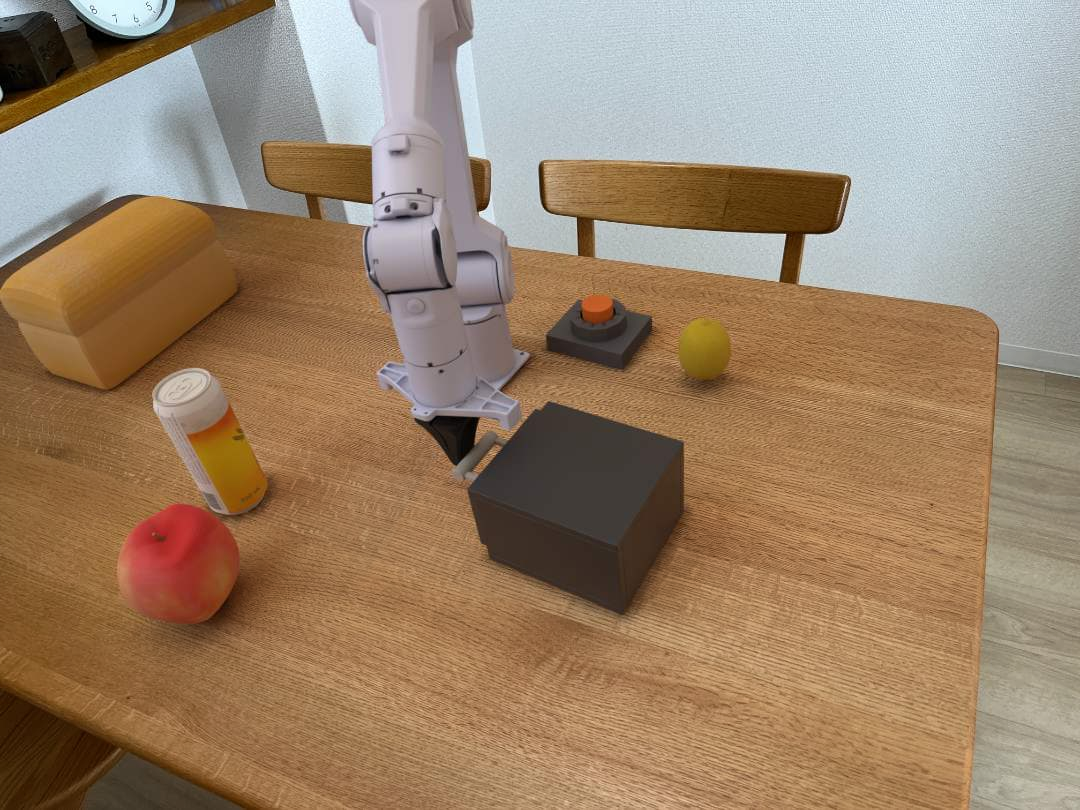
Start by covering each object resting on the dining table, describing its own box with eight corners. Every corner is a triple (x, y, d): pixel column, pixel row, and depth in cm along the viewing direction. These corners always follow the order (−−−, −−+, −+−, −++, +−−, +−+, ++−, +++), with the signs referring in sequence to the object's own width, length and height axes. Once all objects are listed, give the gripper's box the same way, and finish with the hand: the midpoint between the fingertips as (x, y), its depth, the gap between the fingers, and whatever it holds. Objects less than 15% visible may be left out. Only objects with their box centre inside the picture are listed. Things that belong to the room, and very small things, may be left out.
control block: (547, 349, 96) (543, 322, 94) (579, 313, 101) (577, 286, 99) (622, 369, 92) (620, 341, 89) (652, 331, 97) (651, 303, 94)
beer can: (281, 480, 85) (228, 369, 75) (247, 524, 80) (187, 411, 71) (234, 471, 87) (176, 361, 77) (199, 513, 82) (133, 403, 73)
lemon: (728, 396, 86) (731, 336, 81) (676, 394, 88) (676, 334, 82) (730, 364, 90) (733, 304, 85) (680, 362, 92) (679, 304, 86)
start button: (577, 320, 94) (575, 308, 93) (591, 304, 96) (590, 291, 95) (604, 327, 92) (603, 314, 91) (618, 310, 95) (617, 297, 93)
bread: (110, 393, 100) (48, 291, 91) (44, 373, 106) (-21, 275, 96) (244, 288, 116) (203, 192, 106) (180, 275, 121) (136, 182, 111)
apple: (219, 544, 79) (177, 473, 72) (277, 590, 74) (237, 518, 67) (130, 613, 74) (77, 543, 67) (185, 668, 69) (133, 598, 62)
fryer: (489, 559, 74) (472, 491, 68) (558, 468, 81) (548, 400, 75) (623, 615, 67) (617, 546, 61) (684, 512, 75) (684, 441, 69)
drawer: (444, 528, 76) (428, 474, 71) (509, 450, 83) (498, 396, 78) (601, 593, 68) (595, 538, 63) (658, 502, 75) (656, 445, 70)
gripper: (340, 353, 69) (379, 464, 78) (478, 396, 63) (504, 512, 72) (391, 309, 74) (423, 419, 83) (525, 345, 67) (544, 461, 76)
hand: (463, 459), depth 77 cm, fingers closed, pressing on drawer
